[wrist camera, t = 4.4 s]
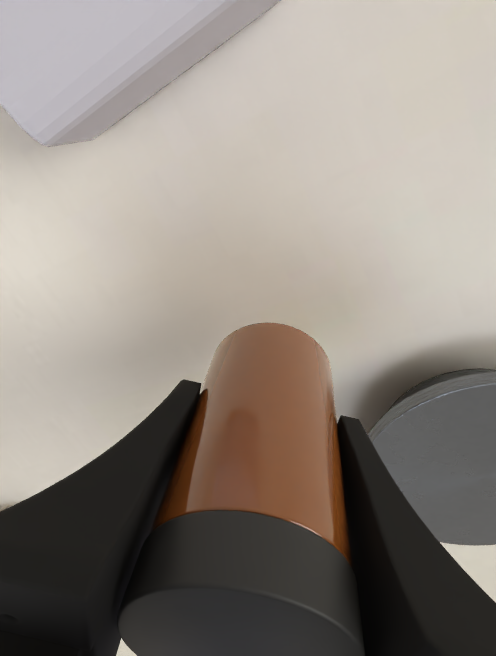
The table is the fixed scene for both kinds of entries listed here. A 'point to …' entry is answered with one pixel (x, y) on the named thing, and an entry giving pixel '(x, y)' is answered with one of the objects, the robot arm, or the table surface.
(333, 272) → the table surface
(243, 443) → the spice jar
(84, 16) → the charger
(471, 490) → the steel stand
